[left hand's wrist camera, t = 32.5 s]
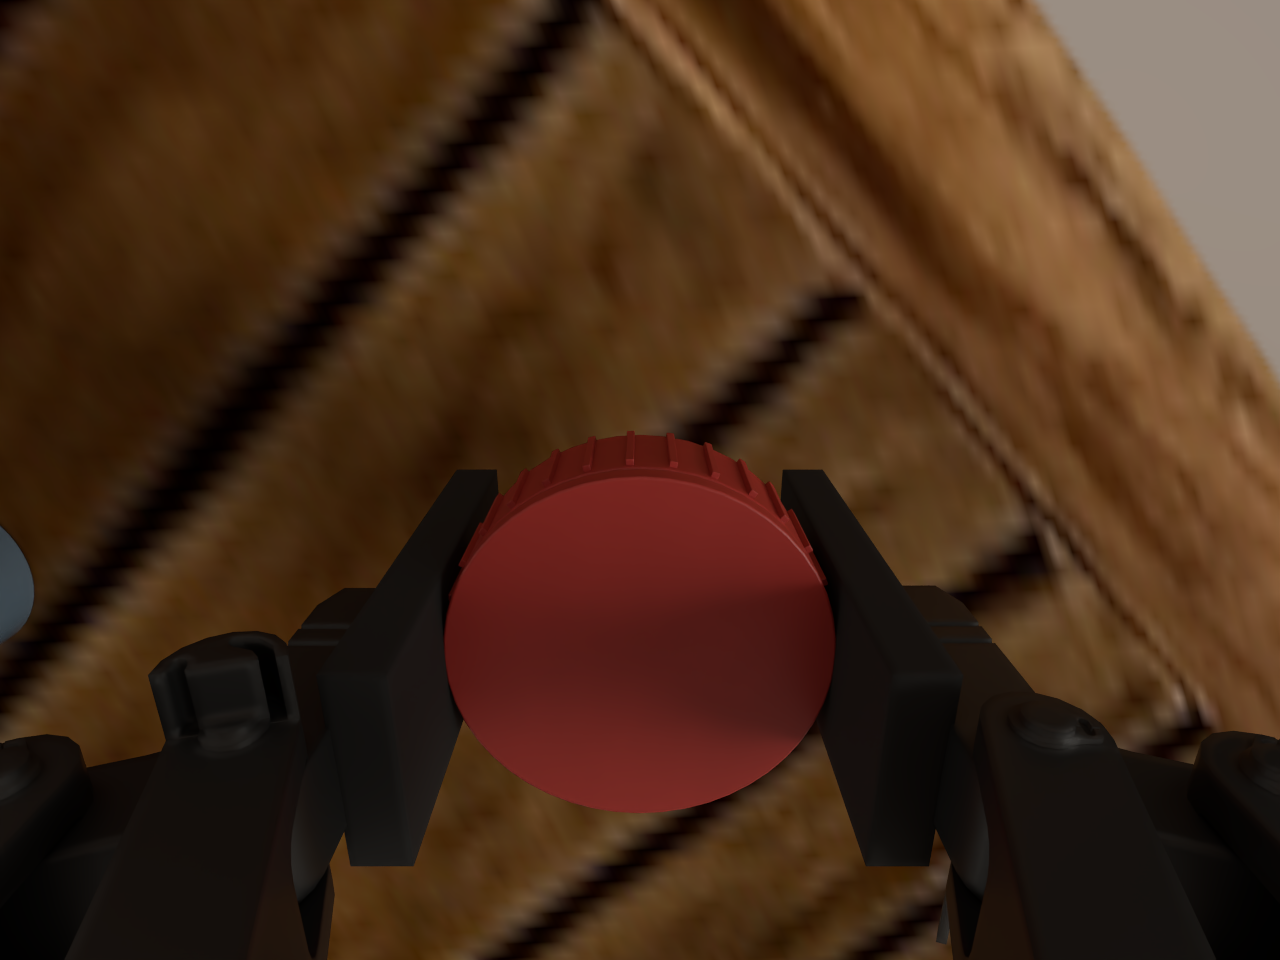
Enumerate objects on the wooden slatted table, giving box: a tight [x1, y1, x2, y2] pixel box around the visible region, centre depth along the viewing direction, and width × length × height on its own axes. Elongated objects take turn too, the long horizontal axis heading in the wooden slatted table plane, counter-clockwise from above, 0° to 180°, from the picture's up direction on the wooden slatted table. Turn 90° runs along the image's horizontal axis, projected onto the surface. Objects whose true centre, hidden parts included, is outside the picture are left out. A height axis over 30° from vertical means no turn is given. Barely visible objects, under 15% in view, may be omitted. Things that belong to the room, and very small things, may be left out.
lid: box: [443, 431, 836, 813], centre depth 11 cm, size 6×6×2 cm
